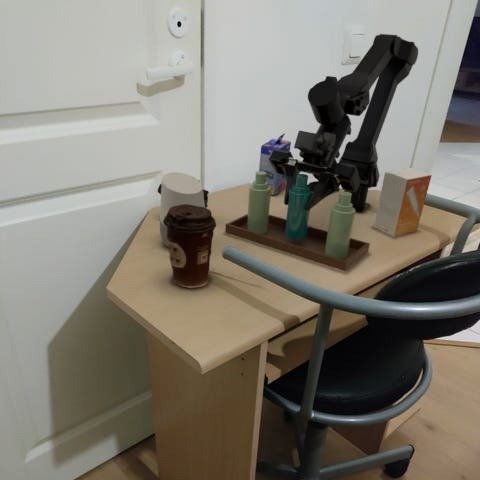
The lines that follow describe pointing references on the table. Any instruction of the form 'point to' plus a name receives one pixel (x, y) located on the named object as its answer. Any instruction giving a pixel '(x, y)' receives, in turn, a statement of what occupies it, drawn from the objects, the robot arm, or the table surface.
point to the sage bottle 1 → (259, 204)
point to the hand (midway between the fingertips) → (295, 206)
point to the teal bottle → (298, 209)
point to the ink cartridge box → (272, 177)
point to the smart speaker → (178, 195)
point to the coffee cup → (189, 243)
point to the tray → (298, 242)
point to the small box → (402, 200)
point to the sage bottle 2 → (340, 227)
